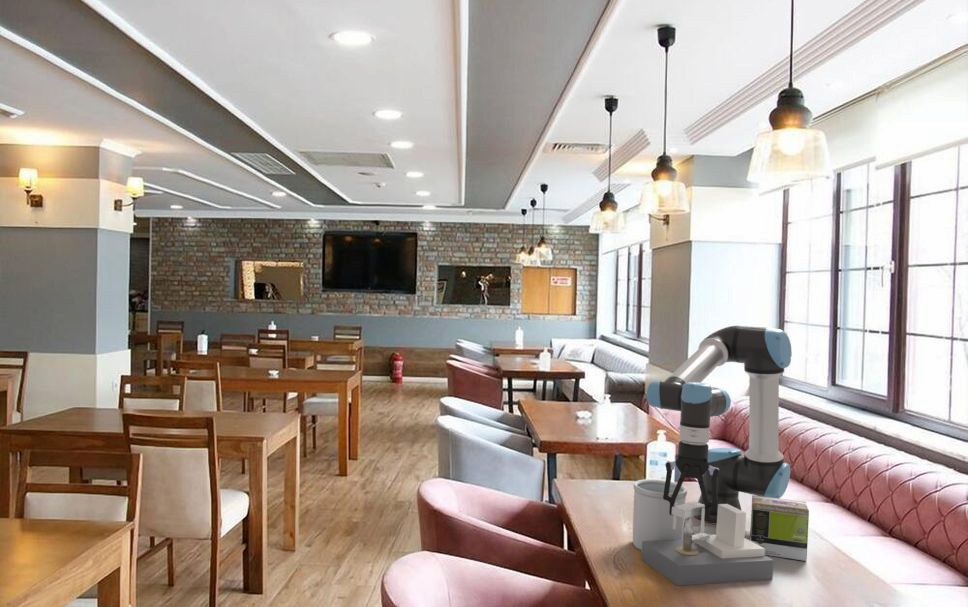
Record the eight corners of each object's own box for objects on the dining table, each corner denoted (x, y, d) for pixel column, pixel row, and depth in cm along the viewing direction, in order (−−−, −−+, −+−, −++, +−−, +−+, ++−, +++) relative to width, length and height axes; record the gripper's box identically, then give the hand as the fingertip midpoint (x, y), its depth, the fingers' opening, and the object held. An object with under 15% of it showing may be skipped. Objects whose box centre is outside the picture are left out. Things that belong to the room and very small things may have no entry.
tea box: (803, 551, 215) (807, 501, 214) (806, 562, 205) (810, 509, 205) (748, 542, 219) (752, 493, 219) (749, 553, 210) (752, 501, 210)
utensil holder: (674, 559, 200) (678, 495, 200) (622, 547, 208) (626, 485, 208) (689, 546, 213) (693, 485, 213) (640, 534, 221) (644, 476, 221)
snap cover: (735, 540, 204) (738, 501, 204) (764, 556, 193) (767, 514, 193) (695, 542, 201) (697, 502, 200) (721, 558, 189) (724, 515, 189)
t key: (698, 541, 200) (701, 499, 200) (711, 546, 197) (714, 503, 197) (669, 550, 191) (672, 506, 191) (682, 555, 188) (685, 510, 188)
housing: (729, 554, 207) (730, 536, 207) (772, 579, 190) (773, 559, 190) (641, 559, 199) (642, 540, 199) (677, 585, 182) (679, 564, 182)
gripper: (654, 440, 192) (649, 527, 192) (732, 449, 186) (726, 540, 186) (657, 435, 199) (652, 520, 200) (732, 444, 193) (727, 531, 193)
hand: (688, 529), depth 193 cm, fingers closed on t key, 6 cm apart
